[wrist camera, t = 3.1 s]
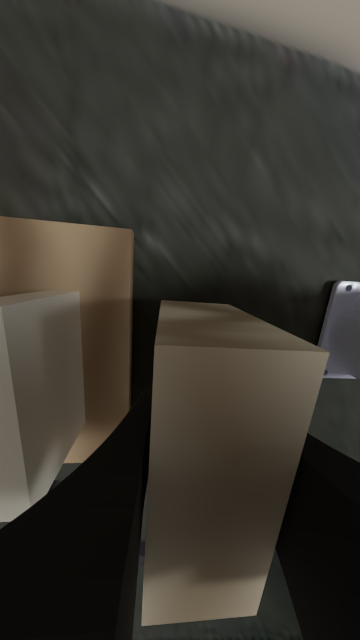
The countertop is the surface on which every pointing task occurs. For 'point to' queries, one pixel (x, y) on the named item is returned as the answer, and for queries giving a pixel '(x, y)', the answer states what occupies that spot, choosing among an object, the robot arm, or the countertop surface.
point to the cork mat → (82, 306)
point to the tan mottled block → (221, 457)
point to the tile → (38, 393)
